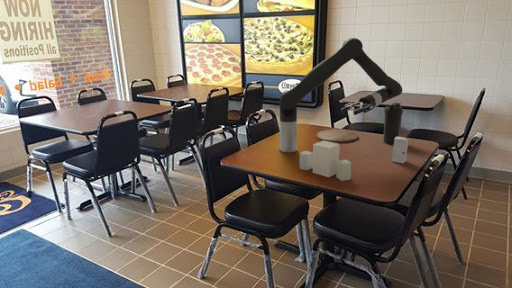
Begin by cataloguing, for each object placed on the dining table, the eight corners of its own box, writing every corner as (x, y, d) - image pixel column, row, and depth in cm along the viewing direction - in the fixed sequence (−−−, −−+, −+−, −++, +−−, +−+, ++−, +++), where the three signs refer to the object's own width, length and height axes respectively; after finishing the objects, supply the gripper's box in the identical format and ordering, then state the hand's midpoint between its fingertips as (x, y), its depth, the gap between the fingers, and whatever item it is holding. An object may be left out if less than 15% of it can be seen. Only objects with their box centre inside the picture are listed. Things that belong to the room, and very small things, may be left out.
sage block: (336, 177, 167) (336, 160, 164) (344, 175, 168) (345, 159, 166) (341, 180, 163) (342, 164, 160) (350, 179, 164) (351, 162, 162)
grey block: (299, 168, 179) (299, 153, 176) (305, 166, 182) (305, 150, 179) (307, 170, 176) (307, 154, 173) (312, 168, 179) (312, 152, 176)
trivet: (365, 137, 228) (365, 134, 228) (343, 146, 212) (343, 143, 211) (331, 130, 246) (332, 127, 245) (308, 138, 229) (308, 135, 229)
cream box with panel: (328, 177, 167) (329, 148, 163) (312, 172, 173) (313, 144, 169) (338, 172, 172) (339, 143, 168) (322, 168, 178) (323, 140, 174)
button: (329, 162, 168) (329, 150, 166) (318, 160, 172) (318, 147, 170) (340, 157, 174) (340, 145, 172) (329, 155, 178) (329, 143, 176)
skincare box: (391, 161, 184) (393, 138, 180) (393, 159, 188) (395, 136, 184) (404, 163, 181) (406, 140, 177) (406, 161, 184) (408, 137, 181)
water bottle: (404, 143, 212) (407, 104, 206) (390, 145, 209) (393, 105, 202) (391, 138, 221) (395, 101, 215) (378, 141, 218) (380, 102, 211)
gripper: (358, 93, 190) (336, 103, 183) (380, 95, 178) (357, 106, 171) (360, 106, 193) (338, 117, 186) (382, 109, 181) (359, 121, 174)
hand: (347, 112), depth 179 cm, fingers open, 8 cm apart
